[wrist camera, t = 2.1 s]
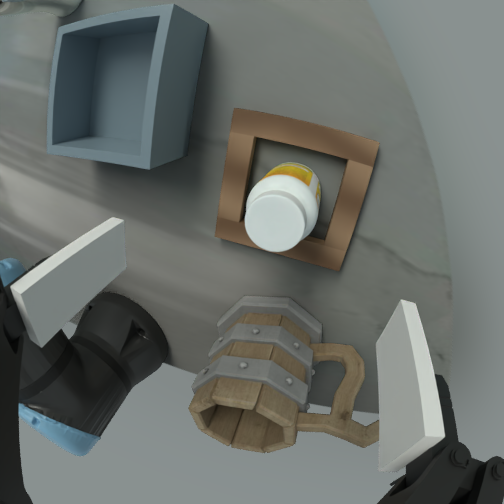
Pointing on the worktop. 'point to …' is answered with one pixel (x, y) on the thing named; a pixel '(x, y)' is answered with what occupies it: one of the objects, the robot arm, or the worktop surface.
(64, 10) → the beer glass
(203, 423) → the tankard
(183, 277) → the worktop surface
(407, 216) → the worktop surface
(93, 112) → the bin
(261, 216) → the supplement bottle
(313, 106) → the worktop surface
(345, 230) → the socket frame
